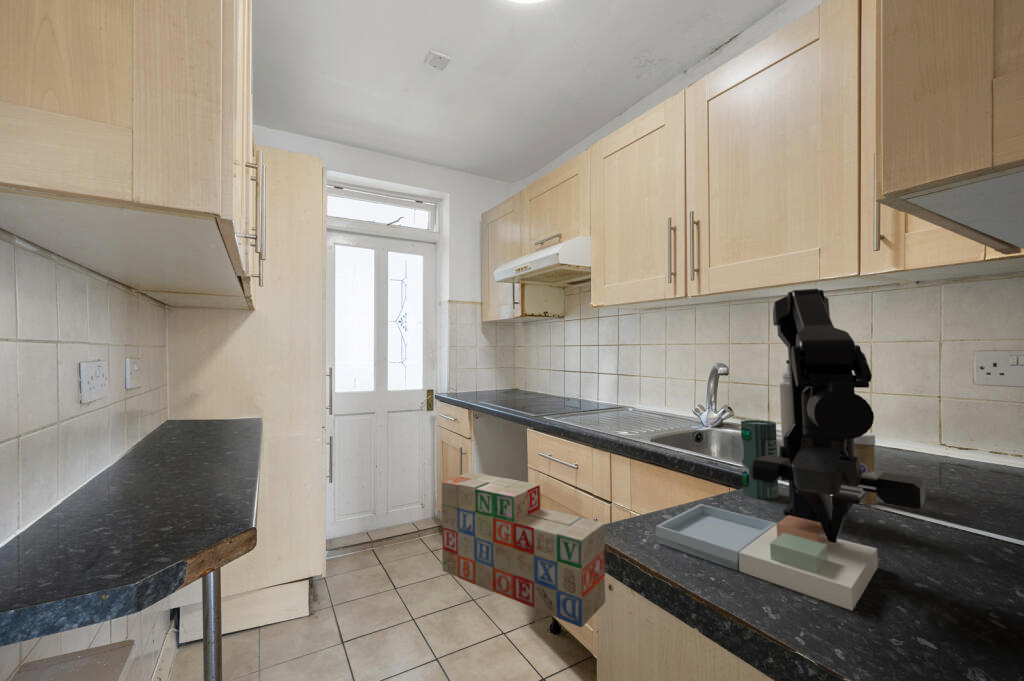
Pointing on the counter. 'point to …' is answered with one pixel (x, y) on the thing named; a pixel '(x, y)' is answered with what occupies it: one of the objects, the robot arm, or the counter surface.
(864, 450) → the sprinkles bottle
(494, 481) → the stack of blocks
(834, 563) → the board
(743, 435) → the can
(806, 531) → the tile terracotta
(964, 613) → the counter surface
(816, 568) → the tile sage
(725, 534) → the box
